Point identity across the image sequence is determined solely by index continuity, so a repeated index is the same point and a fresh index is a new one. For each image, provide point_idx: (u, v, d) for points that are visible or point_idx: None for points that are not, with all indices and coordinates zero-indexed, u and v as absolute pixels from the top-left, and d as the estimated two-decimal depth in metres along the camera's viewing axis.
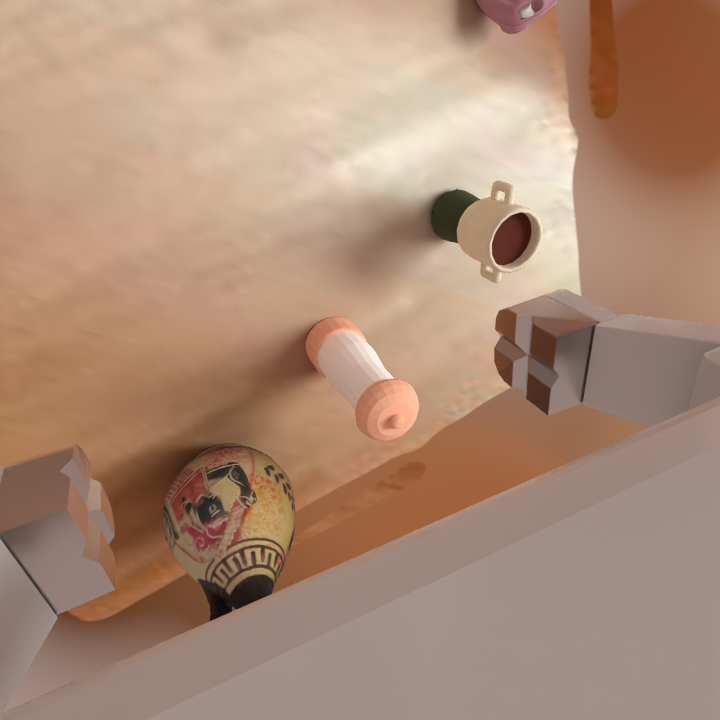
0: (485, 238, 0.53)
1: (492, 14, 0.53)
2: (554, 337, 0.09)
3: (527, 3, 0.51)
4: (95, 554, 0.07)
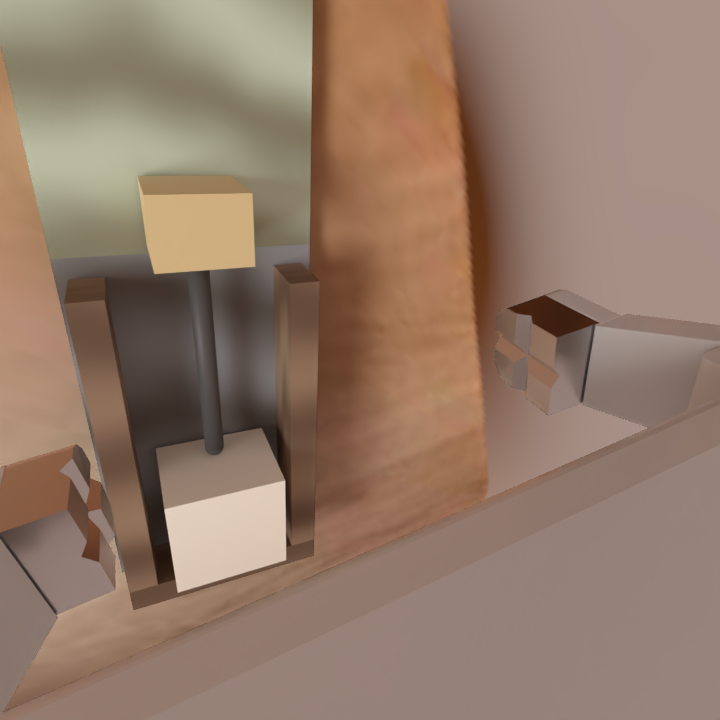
0: None
1: None
2: (554, 338, 0.09)
3: None
4: (95, 554, 0.07)
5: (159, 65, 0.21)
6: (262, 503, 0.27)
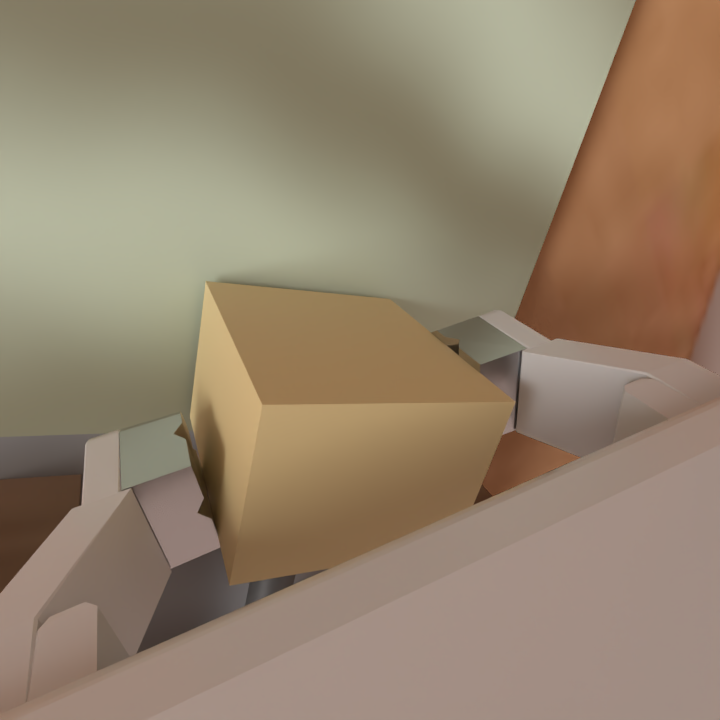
0: None
1: None
2: (478, 364, 0.09)
3: None
4: (207, 512, 0.08)
5: (318, 47, 0.09)
6: None
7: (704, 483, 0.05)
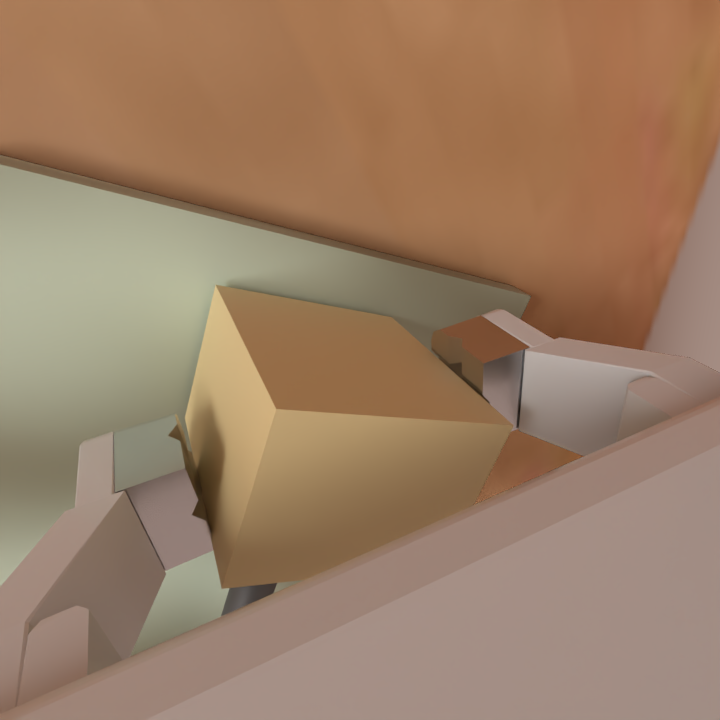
0: None
1: None
2: (480, 362, 0.09)
3: None
4: (202, 514, 0.08)
5: None
6: None
7: (704, 483, 0.05)
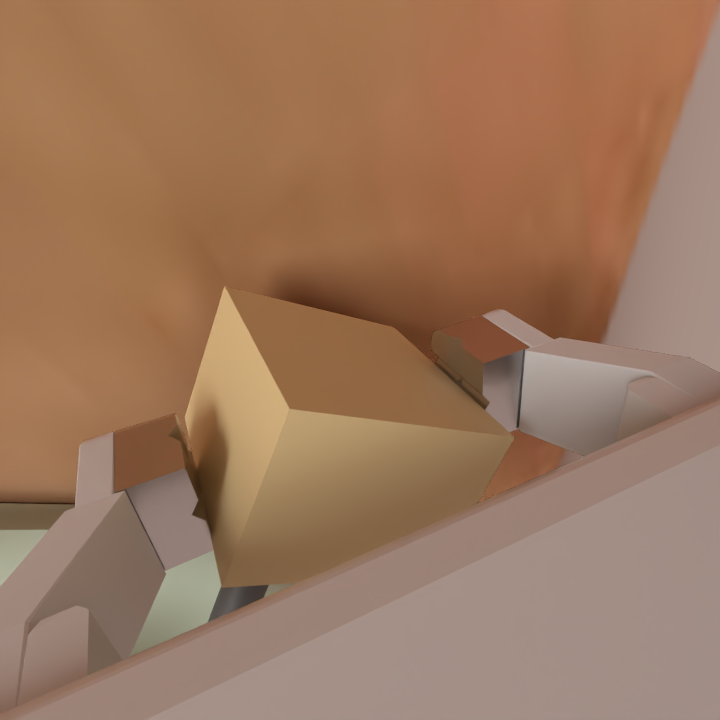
0: None
1: None
2: (480, 362, 0.09)
3: None
4: (202, 514, 0.08)
5: None
6: None
7: (704, 483, 0.05)
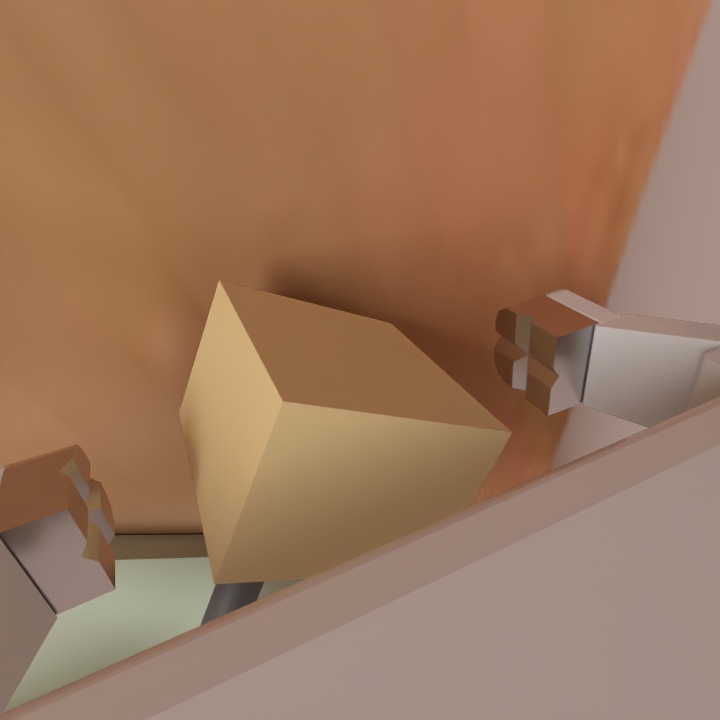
0: None
1: None
2: (554, 337, 0.09)
3: None
4: (95, 554, 0.07)
5: None
6: None
7: (704, 483, 0.05)
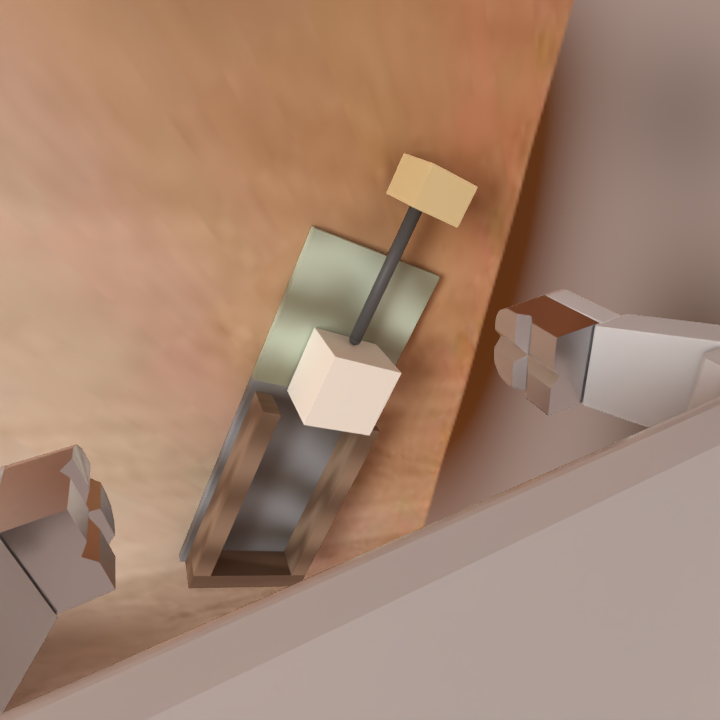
0: None
1: None
2: (554, 337, 0.09)
3: None
4: (95, 554, 0.07)
5: (349, 312, 0.41)
6: (381, 383, 0.39)
7: (704, 483, 0.05)
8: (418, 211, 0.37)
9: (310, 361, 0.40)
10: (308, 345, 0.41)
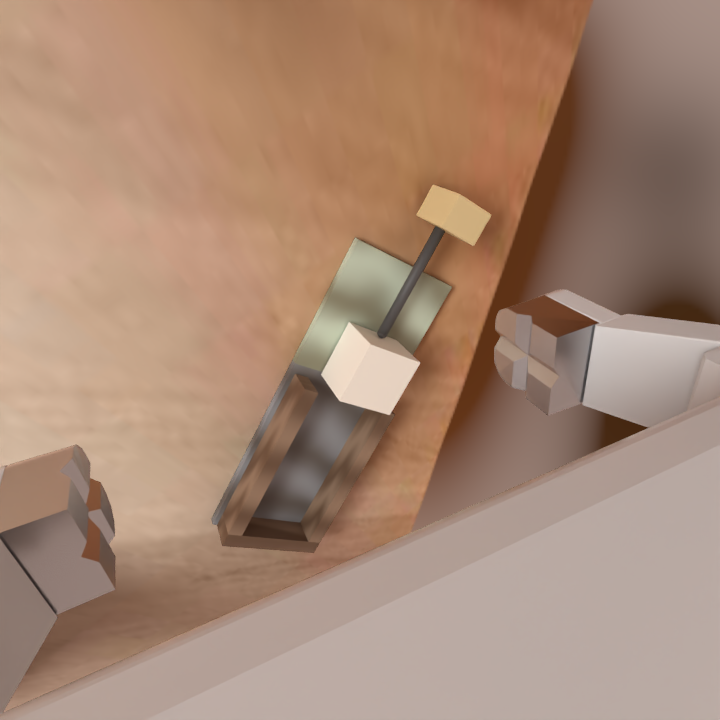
0: None
1: None
2: (553, 337, 0.09)
3: None
4: (95, 554, 0.07)
5: (377, 311, 0.50)
6: (404, 370, 0.48)
7: (704, 483, 0.05)
8: (442, 231, 0.46)
9: (345, 349, 0.48)
10: (343, 336, 0.49)
